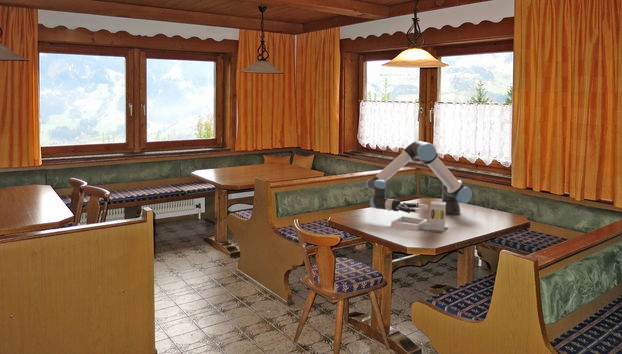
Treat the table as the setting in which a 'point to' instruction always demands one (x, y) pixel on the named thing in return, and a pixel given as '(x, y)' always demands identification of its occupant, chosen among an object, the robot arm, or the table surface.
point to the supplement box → (437, 216)
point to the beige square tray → (409, 219)
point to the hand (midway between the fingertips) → (424, 209)
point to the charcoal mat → (426, 228)
